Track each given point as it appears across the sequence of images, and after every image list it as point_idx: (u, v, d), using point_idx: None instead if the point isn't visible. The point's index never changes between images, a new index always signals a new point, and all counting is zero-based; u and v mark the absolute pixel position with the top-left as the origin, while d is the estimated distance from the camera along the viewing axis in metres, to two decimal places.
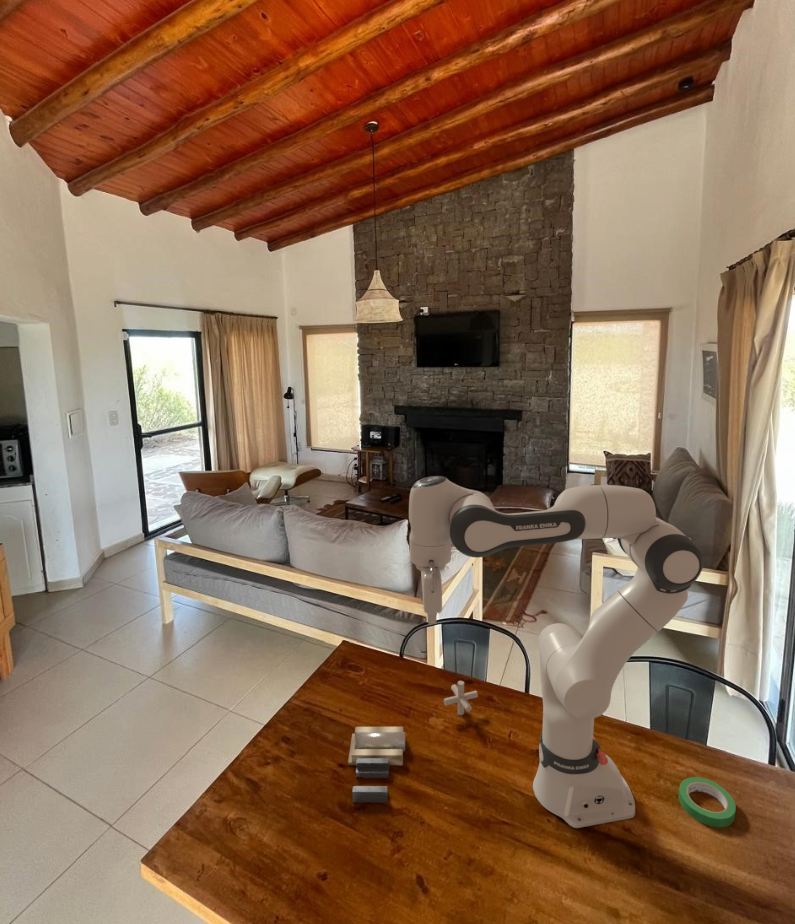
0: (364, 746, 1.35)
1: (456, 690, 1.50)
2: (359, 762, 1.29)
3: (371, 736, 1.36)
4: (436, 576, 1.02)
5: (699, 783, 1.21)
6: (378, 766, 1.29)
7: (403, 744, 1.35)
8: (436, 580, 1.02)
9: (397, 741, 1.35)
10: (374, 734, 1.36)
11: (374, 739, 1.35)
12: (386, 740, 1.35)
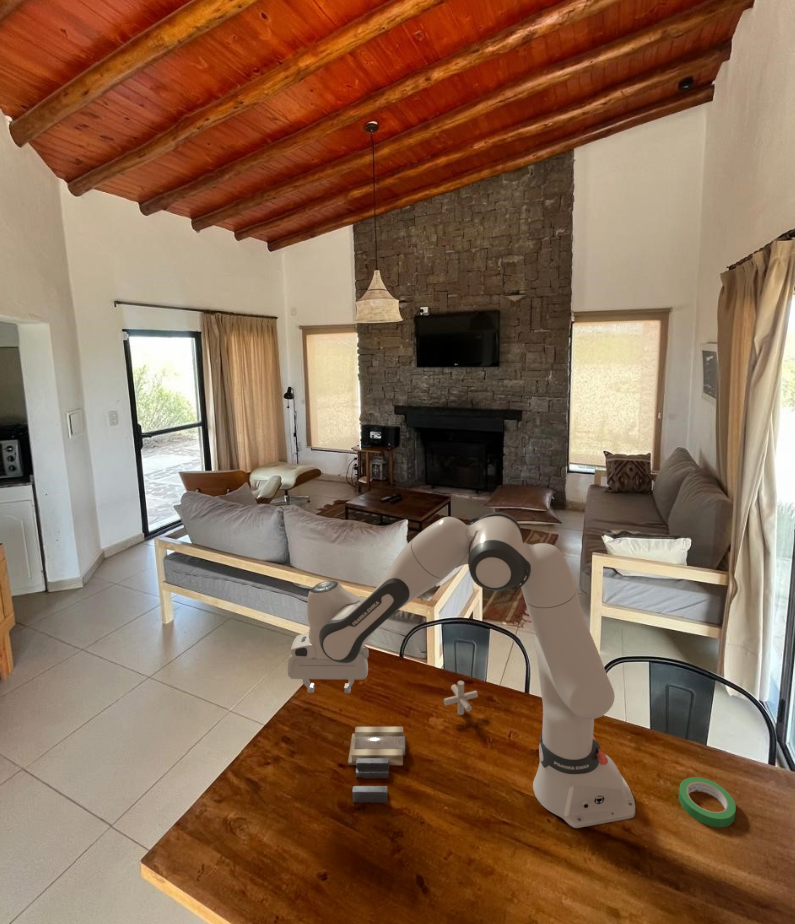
0: None
1: (456, 690, 1.50)
2: (359, 762, 1.29)
3: (370, 747, 1.33)
4: None
5: (699, 783, 1.21)
6: (378, 766, 1.29)
7: (403, 754, 1.33)
8: None
9: None
10: (373, 744, 1.34)
11: None
12: None
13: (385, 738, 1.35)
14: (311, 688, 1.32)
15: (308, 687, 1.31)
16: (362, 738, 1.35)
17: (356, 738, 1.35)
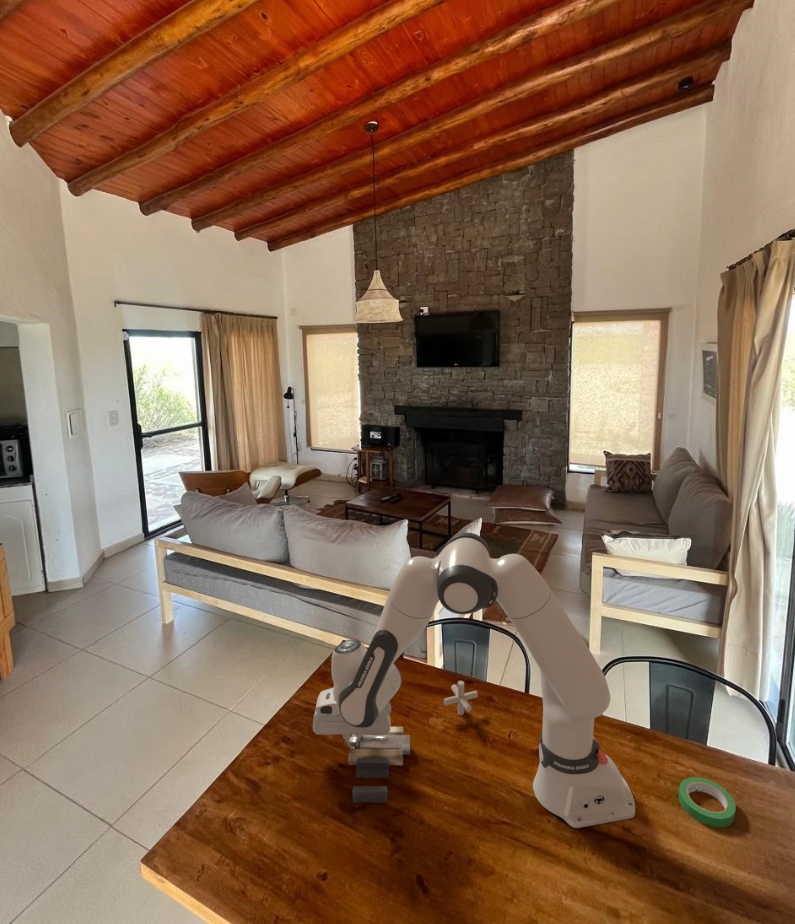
0: None
1: (456, 690, 1.50)
2: (359, 762, 1.29)
3: (375, 745, 1.34)
4: None
5: (699, 783, 1.21)
6: (378, 766, 1.29)
7: (408, 752, 1.33)
8: None
9: None
10: (378, 742, 1.34)
11: None
12: None
13: (390, 736, 1.35)
14: (351, 742, 1.35)
15: (348, 741, 1.35)
16: (367, 736, 1.35)
17: None
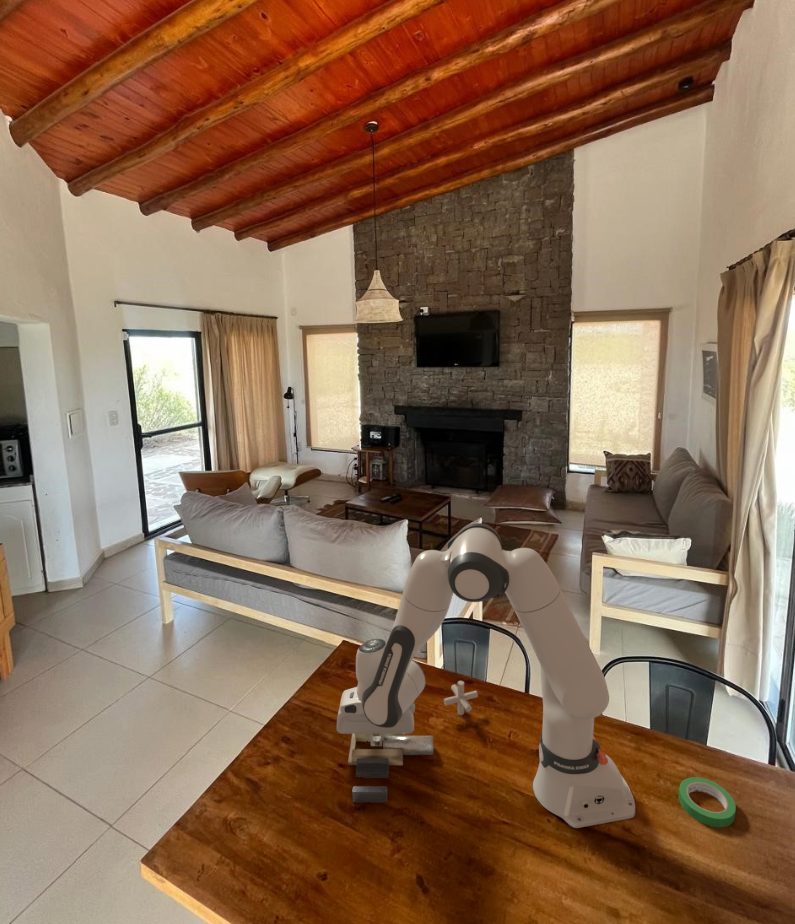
0: None
1: (456, 690, 1.50)
2: (359, 762, 1.29)
3: (398, 746, 1.33)
4: None
5: (699, 783, 1.21)
6: (378, 766, 1.29)
7: (432, 752, 1.33)
8: None
9: (425, 751, 1.33)
10: (402, 743, 1.34)
11: None
12: (414, 749, 1.33)
13: (413, 737, 1.35)
14: (374, 742, 1.35)
15: (371, 741, 1.35)
16: (390, 737, 1.35)
17: (384, 737, 1.35)
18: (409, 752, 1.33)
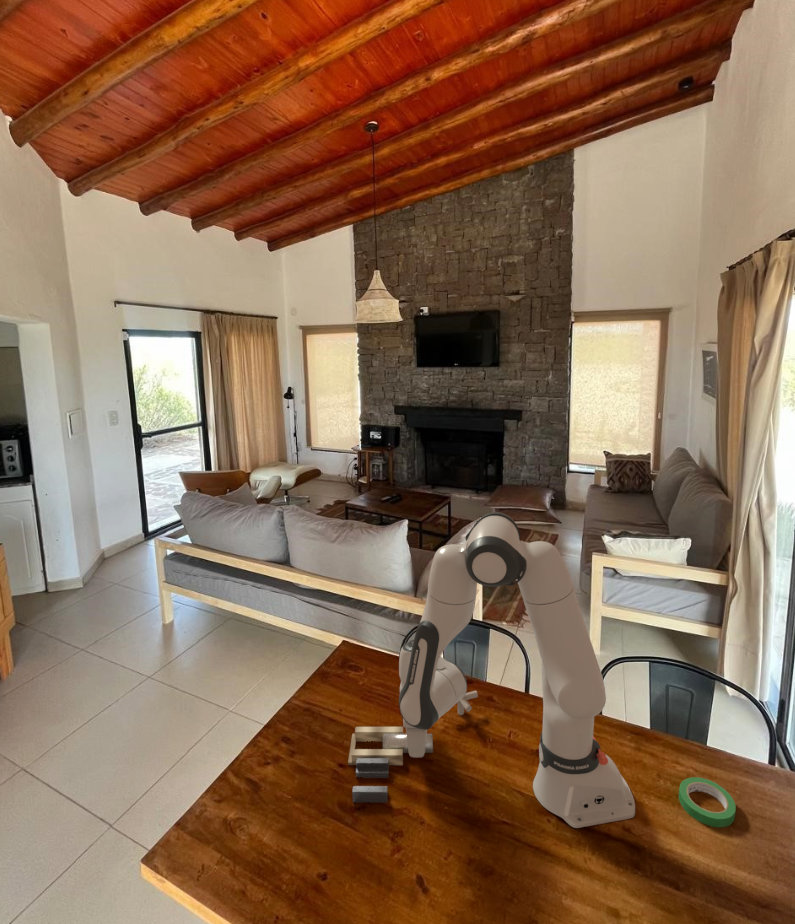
0: None
1: None
2: (359, 762, 1.29)
3: (398, 741, 1.34)
4: None
5: (699, 783, 1.21)
6: (378, 766, 1.29)
7: (431, 749, 1.33)
8: None
9: (425, 747, 1.33)
10: (401, 738, 1.35)
11: (401, 745, 1.34)
12: None
13: None
14: None
15: None
16: (390, 734, 1.36)
17: (384, 734, 1.36)
18: None
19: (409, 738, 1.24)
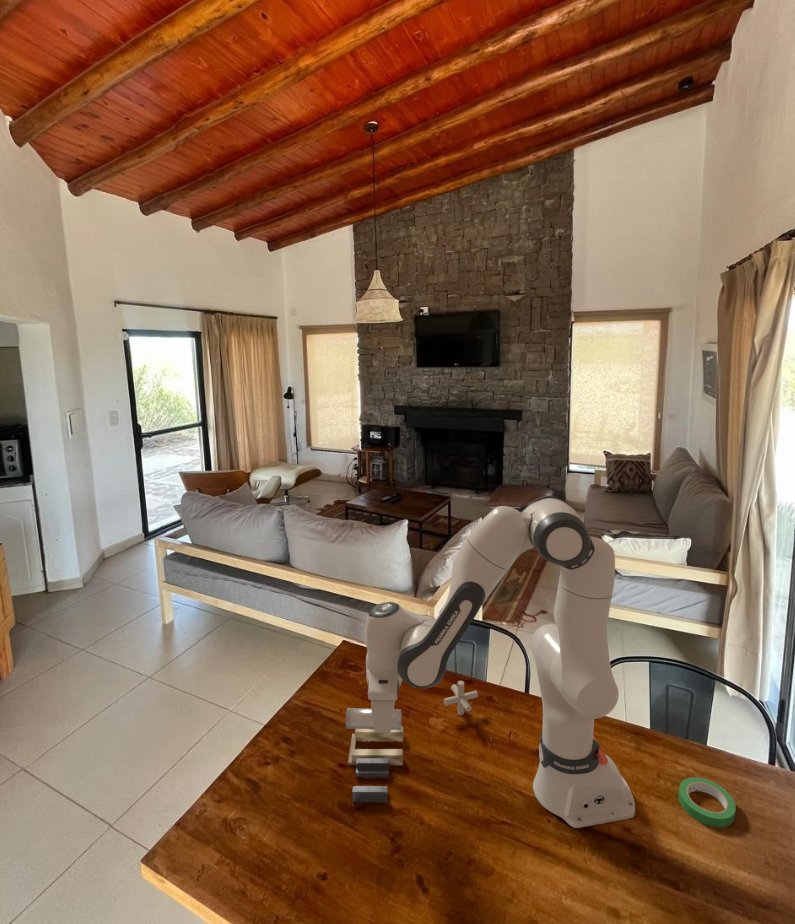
0: (356, 727, 1.22)
1: (456, 690, 1.50)
2: (359, 762, 1.29)
3: (363, 716, 1.22)
4: None
5: (699, 783, 1.21)
6: (378, 766, 1.29)
7: (399, 725, 1.21)
8: None
9: (392, 723, 1.21)
10: (367, 713, 1.22)
11: (366, 720, 1.21)
12: None
13: None
14: None
15: None
16: (355, 708, 1.24)
17: (348, 708, 1.24)
18: None
19: (374, 711, 1.12)
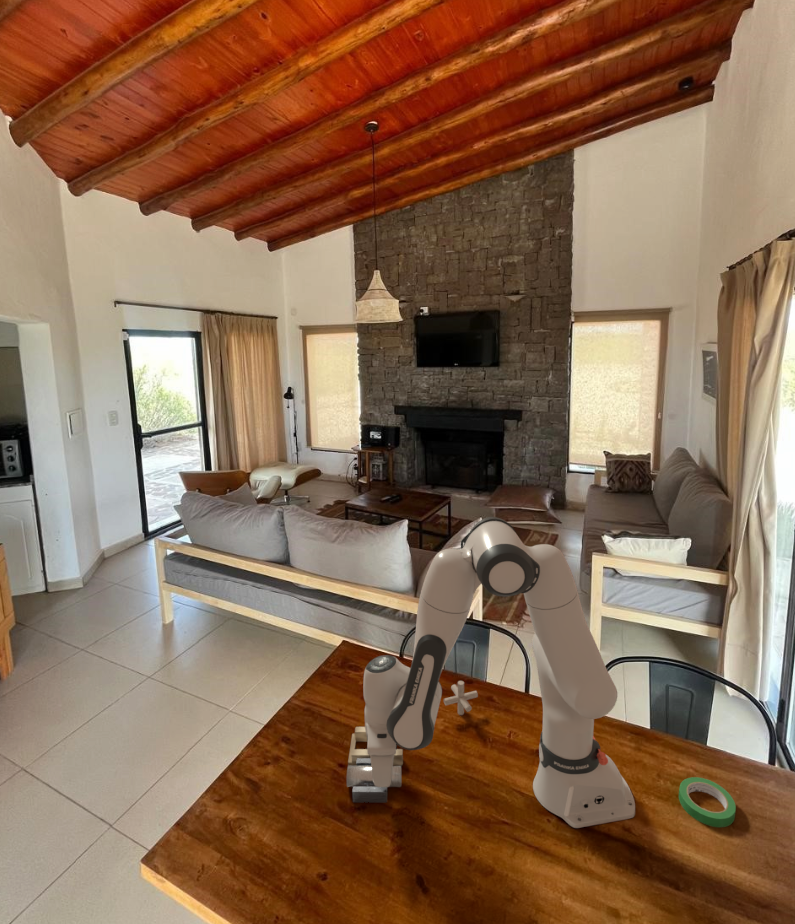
0: (357, 785, 1.24)
1: (456, 690, 1.50)
2: (359, 762, 1.29)
3: (363, 775, 1.24)
4: None
5: (699, 783, 1.21)
6: None
7: (399, 783, 1.23)
8: None
9: (392, 781, 1.23)
10: (367, 772, 1.24)
11: (367, 779, 1.23)
12: None
13: None
14: None
15: None
16: (355, 766, 1.26)
17: (349, 766, 1.26)
18: None
19: (374, 766, 1.13)
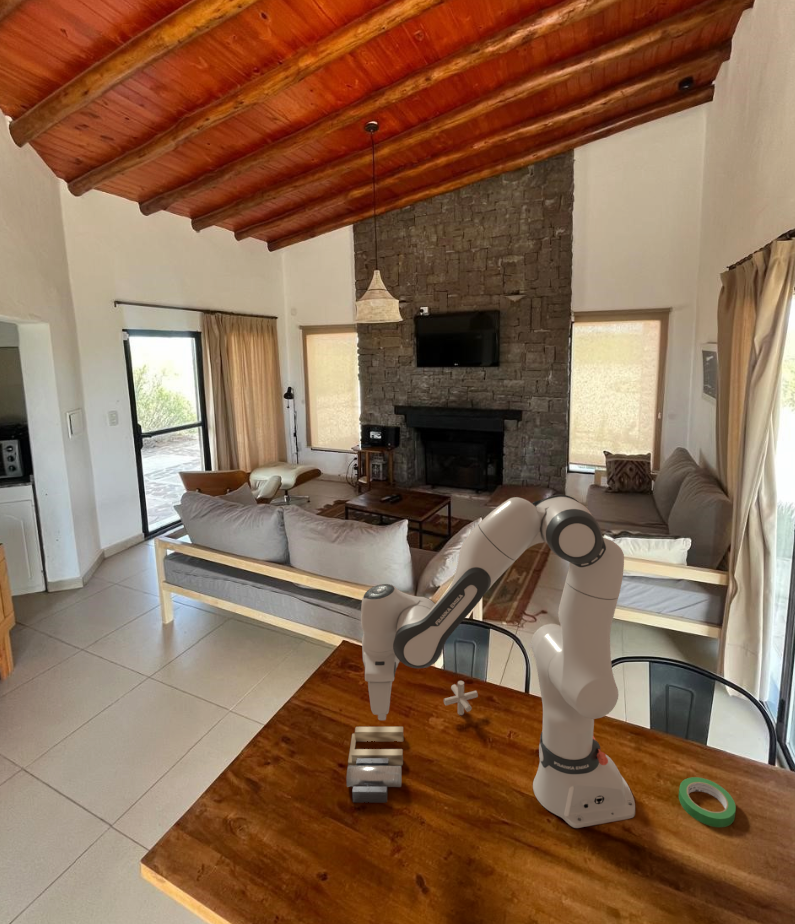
0: (357, 785, 1.24)
1: (456, 690, 1.50)
2: (359, 762, 1.29)
3: (363, 775, 1.24)
4: None
5: (699, 783, 1.21)
6: None
7: (399, 783, 1.23)
8: None
9: (392, 781, 1.23)
10: (367, 772, 1.24)
11: (367, 779, 1.23)
12: (380, 779, 1.23)
13: (380, 766, 1.26)
14: None
15: None
16: (355, 766, 1.26)
17: (349, 766, 1.26)
18: (375, 782, 1.23)
19: (371, 693, 1.11)
